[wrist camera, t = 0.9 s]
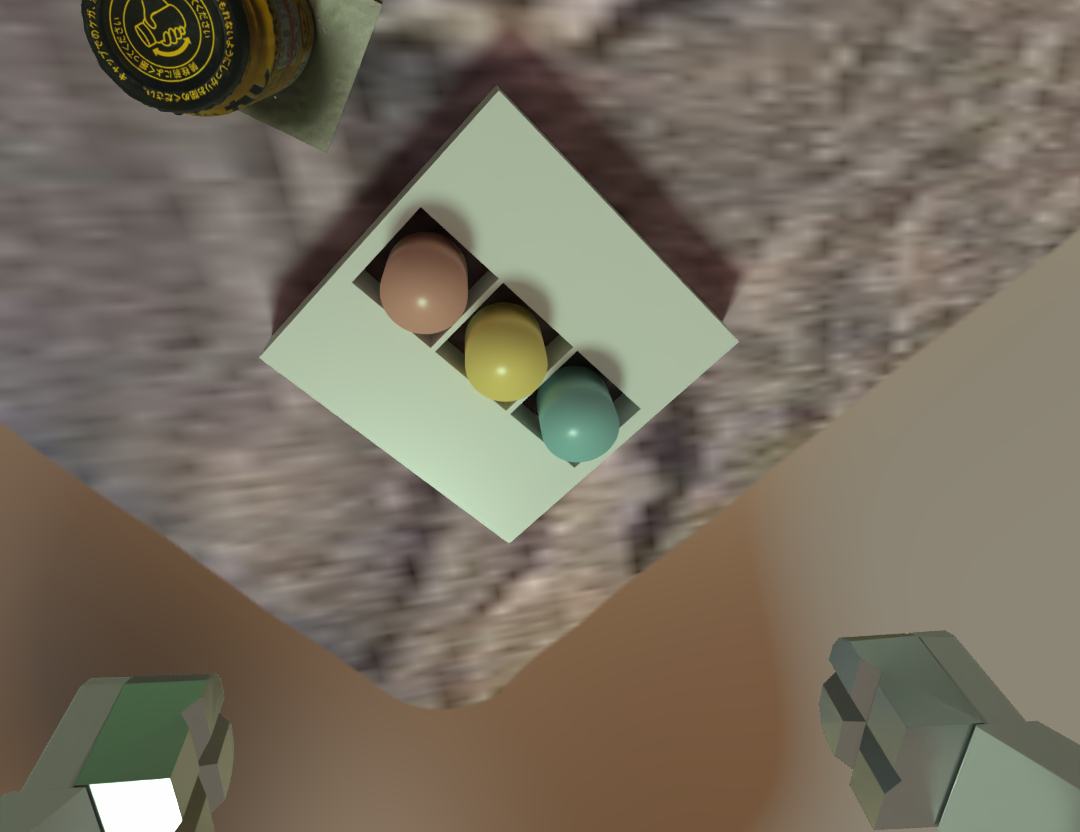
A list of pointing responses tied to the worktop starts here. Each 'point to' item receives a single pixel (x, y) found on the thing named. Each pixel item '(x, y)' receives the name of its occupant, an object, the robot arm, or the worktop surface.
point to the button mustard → (504, 352)
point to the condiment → (236, 57)
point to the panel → (513, 259)
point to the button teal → (576, 414)
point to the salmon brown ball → (425, 283)
